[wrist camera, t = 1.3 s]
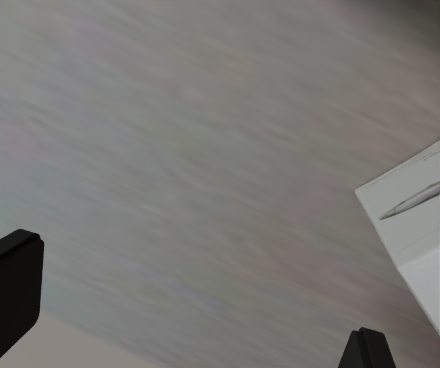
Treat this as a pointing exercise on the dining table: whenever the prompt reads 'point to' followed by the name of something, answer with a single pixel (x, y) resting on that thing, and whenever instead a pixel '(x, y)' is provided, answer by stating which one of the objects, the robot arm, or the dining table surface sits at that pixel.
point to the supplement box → (411, 224)
